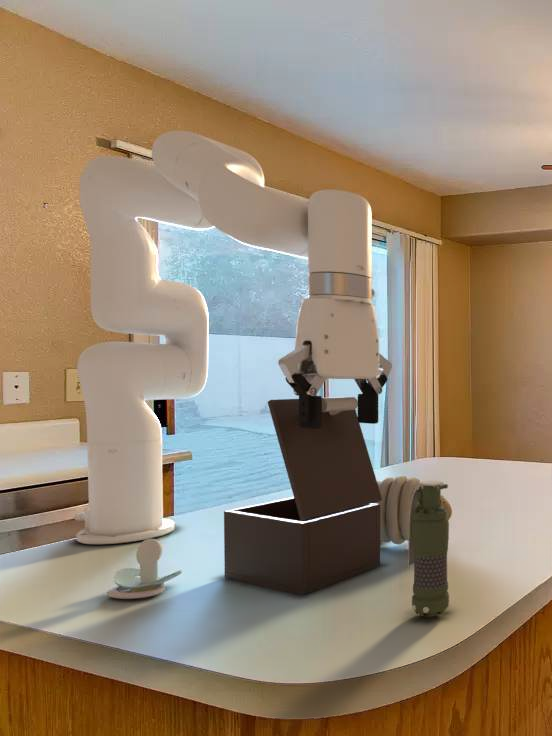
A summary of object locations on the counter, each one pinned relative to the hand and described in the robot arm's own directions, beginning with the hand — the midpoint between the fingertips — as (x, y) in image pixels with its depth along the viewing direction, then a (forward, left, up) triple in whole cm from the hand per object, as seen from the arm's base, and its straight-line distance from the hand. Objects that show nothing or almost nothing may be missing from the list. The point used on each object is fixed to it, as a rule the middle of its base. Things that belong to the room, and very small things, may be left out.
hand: (340, 425), depth 77 cm
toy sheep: (0, +16, -20) cm, 26 cm away
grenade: (+17, -8, -21) cm, 28 cm away
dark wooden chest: (-6, +2, -20) cm, 21 cm away
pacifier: (-20, -9, -20) cm, 31 cm away
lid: (-3, +1, -4) cm, 5 cm away
